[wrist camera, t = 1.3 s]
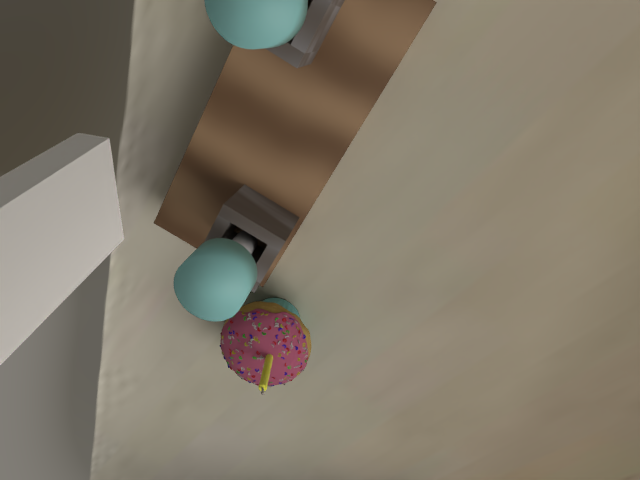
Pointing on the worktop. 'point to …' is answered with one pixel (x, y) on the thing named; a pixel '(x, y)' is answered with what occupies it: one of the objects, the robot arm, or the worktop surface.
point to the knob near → (257, 21)
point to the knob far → (217, 277)
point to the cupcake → (266, 343)
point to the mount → (286, 124)
